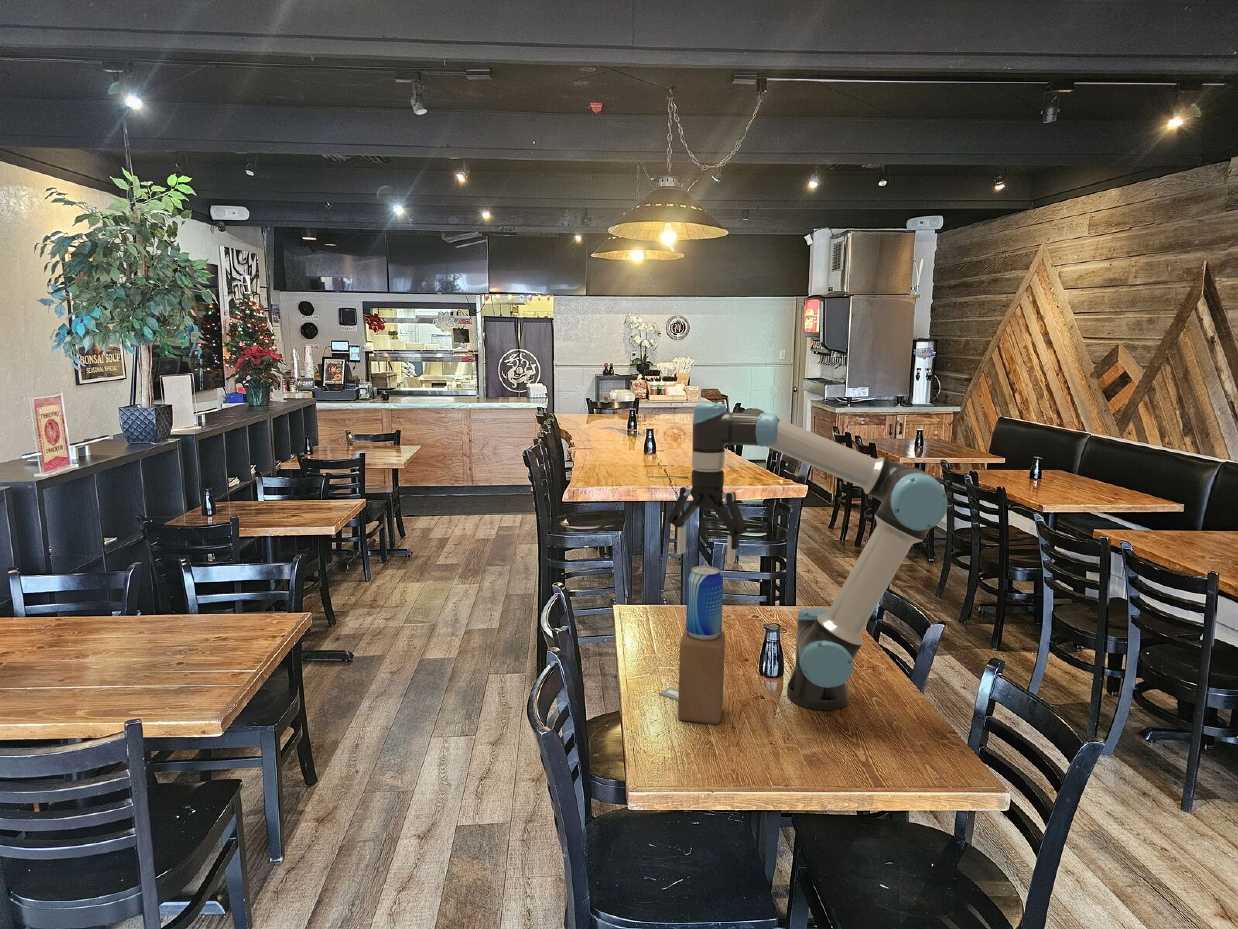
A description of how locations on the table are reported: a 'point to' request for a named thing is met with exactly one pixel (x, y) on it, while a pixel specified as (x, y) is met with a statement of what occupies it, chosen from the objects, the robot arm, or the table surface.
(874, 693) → the table surface
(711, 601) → the beer can
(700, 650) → the block
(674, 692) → the card
